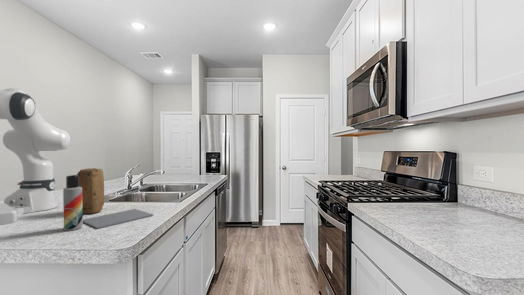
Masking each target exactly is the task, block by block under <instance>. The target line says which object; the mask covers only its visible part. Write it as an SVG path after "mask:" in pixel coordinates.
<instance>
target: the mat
mask: <svg viewBox="0 0 524 295" xmlns="http://www.w3.org/2000/svg"><path fill="white" fill-rule="evenodd" d="M149 217H154V213H153V214H152V213H150V212H147V211H143V210H140V209H136V208H133V209H128V210H122V211H118V212H113V213H107V214H103V215H99V216H94V217H88V218H85V219H84V218H83V224H86V225H88V226H90V227H91V228H93V229H96V230H100V229H103V228H108V227H113V226H116V225H120V224H124V223H129V222H133V221H137V220H141V219H145V218H149Z"/></svg>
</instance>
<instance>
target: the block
mask: <svg viewBox="0 0 524 295" xmlns="http://www.w3.org/2000/svg"><path fill="white" fill-rule="evenodd" d="M76 175H79V187H82V206H83V214H86V215H87V214H88V215H89V214H90V215H92V214H96V213H101V212H102V210H103V207H104V204H105V177H104V170H103V169H102V168H84V169H83V168H82V169H80V170H79V171H78V172H77V173H76Z"/></svg>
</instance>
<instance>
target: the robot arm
mask: <svg viewBox="0 0 524 295" xmlns="http://www.w3.org/2000/svg"><path fill="white" fill-rule="evenodd" d="M0 120H7V122H8V123H9V124H10V127H11V128H12V129H8V130H7V131H5V133H4V134H3V136H2V144H3V145H4V147H5V148H6V149H7V150H9V151H11V152H13V153H14V154H15V155H16V156H17V157H18V159H19V160H20V161H21V162H20V163H21V164H22V172H23V173H22V174H23V180H22V181H21V182H18V183H17V186H19V188H18V189H16V190H15V191H14V192H12V193H10V194H9V195H8V196H6V197H5V199H4V201H3V202H0V226H6V225H11V224H14V223H17V222H18V216H19V215H22V214H30V213H35V212H40V211H47V210H51V209H55V208H57V207H59V205H58V202H57V198H56V192H55V187H56V181H55V177H54V164H53V162H52V161H51V160H50V159H47V158H45V157H42V156H41V154H40V152H56V151H63V150H66V149H68V147H69V146H71V140H72V139H71V136H70V134H69V132H67V131H66V130H64V129H62V128H58V127H56V126H55V125H53V124H51V123H49V122H48V121H46V120H45V119H44V117H43V116H42V115H41V113H40V111H39V109H38V108H37V106H36V102H35V99H34V98H32V97H31V96H30V95H28V94H27V93H26V92H25V91H24V90H21V89H19V88H13V87H11V88H5V89H0Z"/></svg>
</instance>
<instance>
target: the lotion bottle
mask: <svg viewBox="0 0 524 295" xmlns="http://www.w3.org/2000/svg"><path fill="white" fill-rule="evenodd" d="M65 177H66V178H65V183H66V186H65V187H64V188H63V190H62V192H63V193H62V198H63V200H62V203H63V209H62V210H63V230H64V231H66V232H71V231H76V230H77V231H78V230H80V229H82V228H83V226H84V225H83V224H84V223H83V219H84V218H83V217H84V216H83V215H84V213H83V206H82V187H79V175H77V174H71V175H67V176H65Z"/></svg>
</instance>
